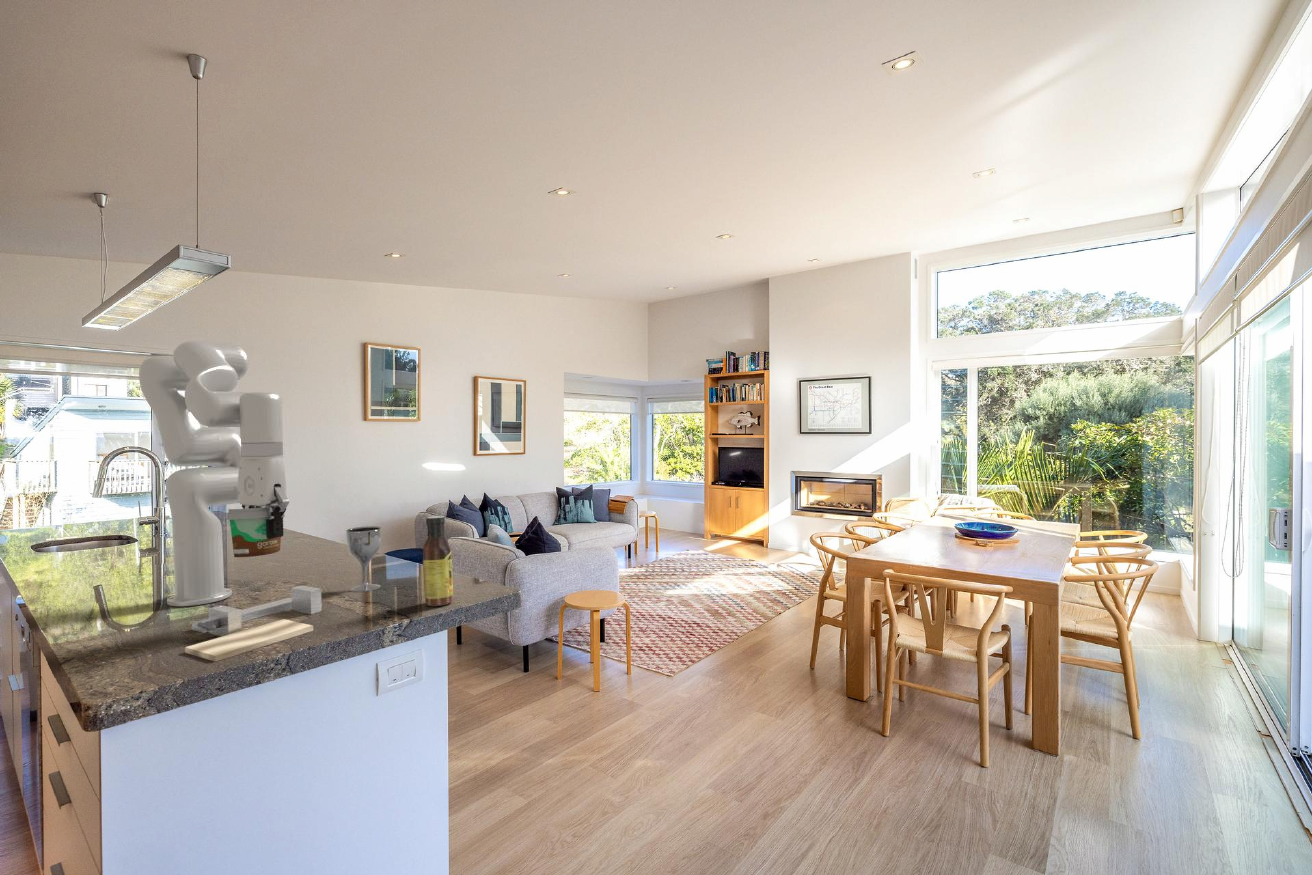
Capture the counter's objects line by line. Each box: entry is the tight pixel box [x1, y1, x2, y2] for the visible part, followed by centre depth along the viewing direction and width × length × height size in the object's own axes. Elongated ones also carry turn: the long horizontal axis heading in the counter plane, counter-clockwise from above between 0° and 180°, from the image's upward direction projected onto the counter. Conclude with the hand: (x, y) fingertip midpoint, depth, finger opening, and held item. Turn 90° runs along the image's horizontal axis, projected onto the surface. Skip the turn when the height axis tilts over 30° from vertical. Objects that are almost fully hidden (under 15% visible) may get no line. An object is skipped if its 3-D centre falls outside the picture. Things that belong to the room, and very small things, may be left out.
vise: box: [191, 585, 323, 637], centre depth 132 cm, size 12×22×5 cm, turn 152°
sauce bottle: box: [422, 515, 454, 607], centre depth 143 cm, size 6×6×20 cm
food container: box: [226, 506, 287, 558], centre depth 132 cm, size 12×6×10 cm, turn 168°
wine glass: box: [345, 525, 382, 593], centre depth 158 cm, size 8×8×15 cm
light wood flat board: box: [184, 618, 314, 663], centre depth 120 cm, size 10×18×1 cm, turn 152°
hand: (264, 535), depth 132 cm, fingers closed on food container, 6 cm apart
